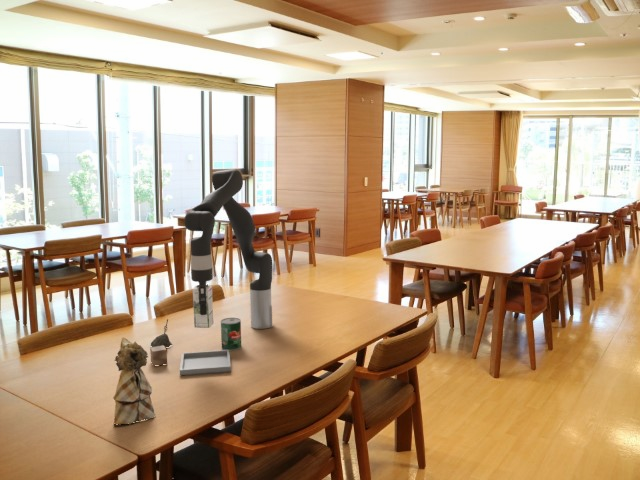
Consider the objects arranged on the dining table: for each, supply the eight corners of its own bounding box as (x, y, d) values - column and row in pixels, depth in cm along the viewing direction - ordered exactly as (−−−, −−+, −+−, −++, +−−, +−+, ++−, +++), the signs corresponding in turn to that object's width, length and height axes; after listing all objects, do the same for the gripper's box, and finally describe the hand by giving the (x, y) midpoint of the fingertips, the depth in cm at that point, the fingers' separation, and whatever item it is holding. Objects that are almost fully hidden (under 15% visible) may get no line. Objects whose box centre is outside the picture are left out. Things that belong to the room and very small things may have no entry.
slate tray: (229, 355, 228) (229, 349, 228) (230, 372, 211) (230, 366, 211) (182, 358, 225) (182, 352, 225) (180, 376, 208) (179, 370, 208)
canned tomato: (237, 351, 233) (236, 324, 231) (218, 349, 234) (217, 322, 233) (244, 344, 241) (243, 318, 239) (225, 343, 242) (224, 317, 240)
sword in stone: (144, 347, 239) (143, 317, 238) (160, 342, 246) (159, 314, 244) (161, 351, 233) (160, 321, 232) (176, 346, 240) (176, 317, 238)
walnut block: (164, 360, 223) (163, 345, 222) (167, 365, 219) (166, 349, 218) (151, 362, 221) (150, 347, 220) (153, 367, 217) (152, 351, 216)
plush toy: (170, 402, 185) (147, 328, 180) (160, 424, 171) (135, 344, 166) (126, 412, 185) (102, 338, 180) (113, 435, 171) (86, 356, 167)
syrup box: (214, 323, 219) (212, 285, 216) (209, 328, 213) (207, 289, 210) (198, 323, 219) (197, 284, 217) (193, 328, 213) (192, 288, 211)
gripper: (212, 270, 206) (214, 317, 209) (212, 262, 220) (214, 306, 223) (190, 271, 205) (192, 318, 207) (191, 263, 219) (193, 307, 221)
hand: (203, 311), depth 215 cm, fingers closed on syrup box, 6 cm apart
